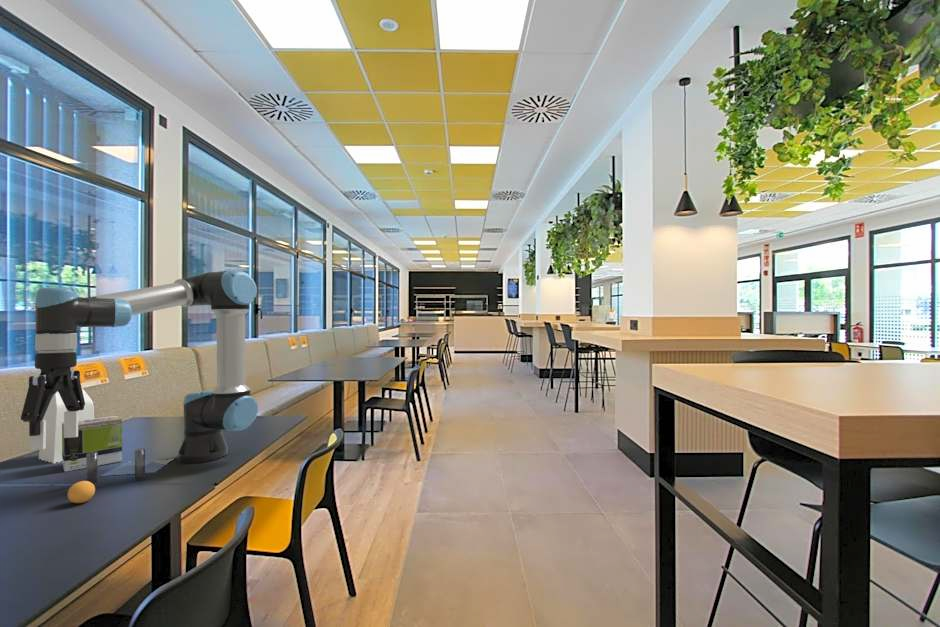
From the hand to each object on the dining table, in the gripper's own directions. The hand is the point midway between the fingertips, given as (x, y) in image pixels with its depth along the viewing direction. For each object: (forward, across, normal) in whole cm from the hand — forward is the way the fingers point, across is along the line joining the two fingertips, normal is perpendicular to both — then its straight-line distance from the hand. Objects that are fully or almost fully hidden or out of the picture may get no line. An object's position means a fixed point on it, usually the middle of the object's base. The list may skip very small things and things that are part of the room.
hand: (55, 443), depth 109 cm
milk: (+18, -60, -32) cm, 70 cm away
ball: (+15, -10, 0) cm, 18 cm away
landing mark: (+18, -40, 0) cm, 44 cm away
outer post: (+18, -26, -6) cm, 32 cm away
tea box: (+18, -48, -18) cm, 54 cm away
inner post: (+18, -26, +6) cm, 32 cm away
